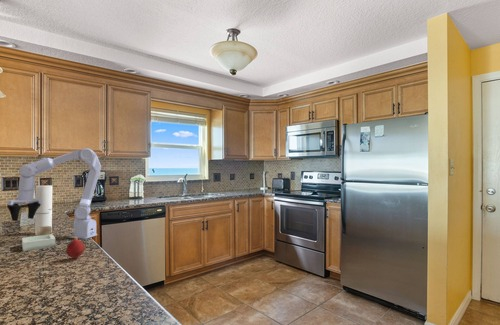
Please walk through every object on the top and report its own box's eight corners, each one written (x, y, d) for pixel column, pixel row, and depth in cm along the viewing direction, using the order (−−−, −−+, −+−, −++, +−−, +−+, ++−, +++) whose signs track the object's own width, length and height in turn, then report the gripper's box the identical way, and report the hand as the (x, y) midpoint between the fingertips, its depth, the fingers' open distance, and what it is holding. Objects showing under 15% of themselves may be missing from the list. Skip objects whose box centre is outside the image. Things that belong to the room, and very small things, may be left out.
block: (50, 238, 137) (50, 225, 137) (51, 240, 133) (51, 227, 133) (37, 239, 133) (37, 227, 134) (38, 241, 130) (38, 229, 130)
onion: (75, 262, 101) (75, 239, 101) (62, 261, 102) (62, 239, 103) (87, 257, 107) (88, 236, 107) (75, 256, 108) (75, 235, 108)
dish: (52, 241, 130) (52, 234, 130) (55, 246, 122) (55, 238, 122) (21, 245, 123) (22, 237, 123) (22, 251, 114) (23, 242, 114)
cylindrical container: (55, 231, 150) (55, 185, 150) (44, 235, 143) (44, 186, 143) (42, 231, 151) (43, 185, 151) (31, 234, 143) (32, 186, 144)
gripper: (33, 189, 138) (30, 216, 137) (3, 189, 124) (-1, 220, 123) (45, 190, 137) (42, 218, 136) (16, 191, 122) (12, 222, 122)
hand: (22, 219), depth 129 cm, fingers open, 7 cm apart
